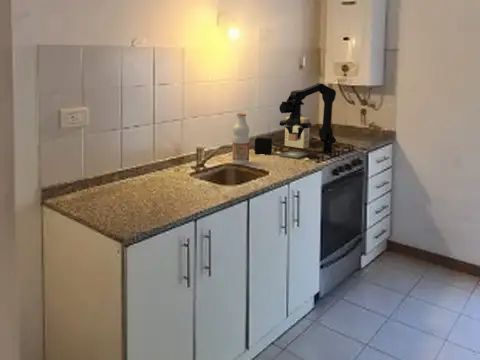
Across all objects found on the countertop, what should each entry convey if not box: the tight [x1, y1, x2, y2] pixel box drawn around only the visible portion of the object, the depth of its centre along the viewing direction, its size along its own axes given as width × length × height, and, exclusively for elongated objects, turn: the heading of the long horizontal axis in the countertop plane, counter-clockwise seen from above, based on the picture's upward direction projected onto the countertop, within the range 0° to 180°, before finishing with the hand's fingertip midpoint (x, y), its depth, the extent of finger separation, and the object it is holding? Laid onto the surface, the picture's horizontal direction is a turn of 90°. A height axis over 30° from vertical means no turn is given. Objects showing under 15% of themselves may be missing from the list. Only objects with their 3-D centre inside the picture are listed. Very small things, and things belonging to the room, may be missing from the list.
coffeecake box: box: [284, 115, 311, 149], centre depth 350 cm, size 15×7×20 cm, turn 51°
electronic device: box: [254, 136, 273, 156], centre depth 325 cm, size 4×10×10 cm, turn 78°
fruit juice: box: [231, 112, 250, 165], centre depth 297 cm, size 9×9×28 cm
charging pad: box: [278, 150, 309, 160], centre depth 322 cm, size 15×12×1 cm
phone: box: [288, 132, 301, 141], centre depth 320 cm, size 8×4×4 cm, turn 149°
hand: (294, 138), depth 320 cm, fingers closed on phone, 4 cm apart
